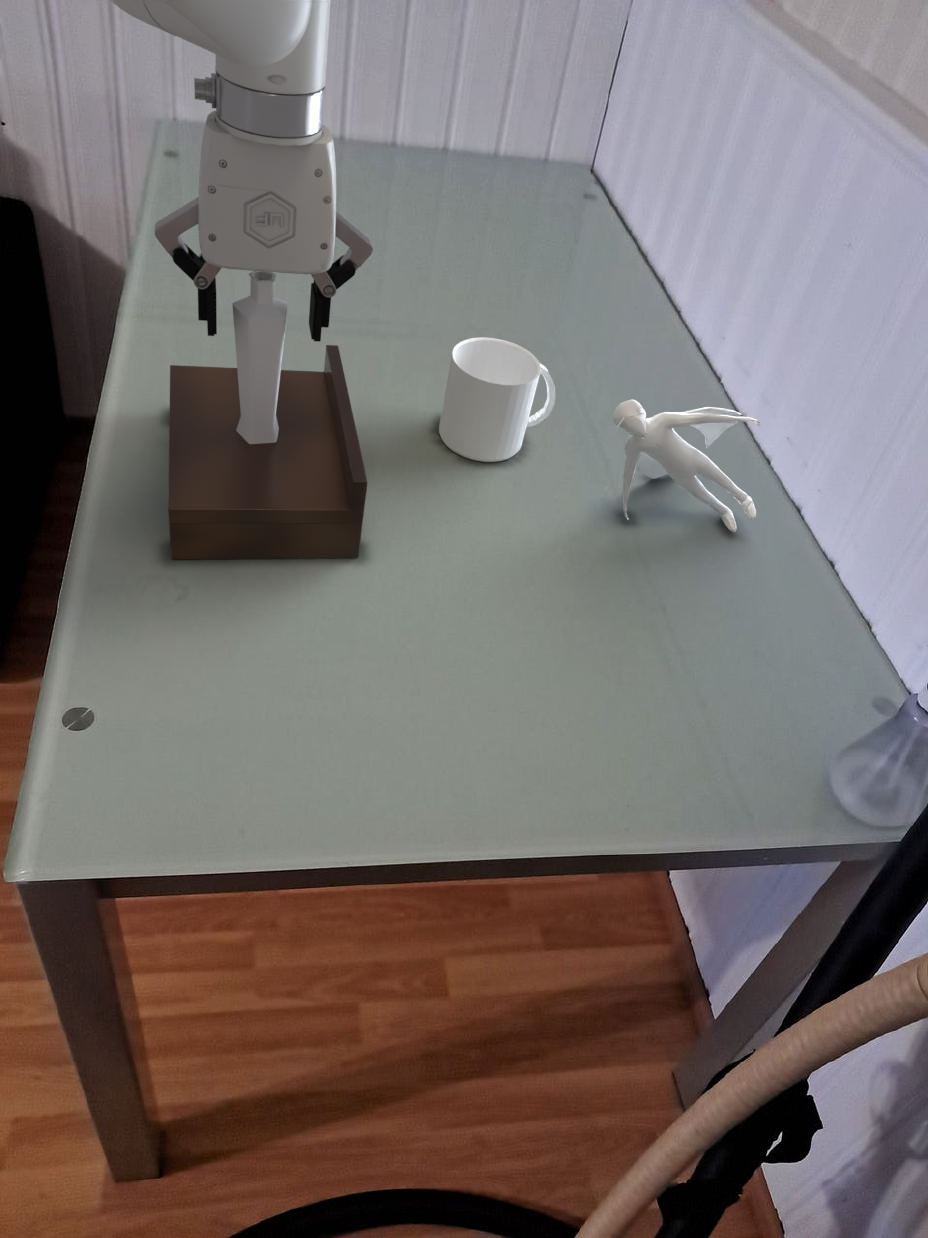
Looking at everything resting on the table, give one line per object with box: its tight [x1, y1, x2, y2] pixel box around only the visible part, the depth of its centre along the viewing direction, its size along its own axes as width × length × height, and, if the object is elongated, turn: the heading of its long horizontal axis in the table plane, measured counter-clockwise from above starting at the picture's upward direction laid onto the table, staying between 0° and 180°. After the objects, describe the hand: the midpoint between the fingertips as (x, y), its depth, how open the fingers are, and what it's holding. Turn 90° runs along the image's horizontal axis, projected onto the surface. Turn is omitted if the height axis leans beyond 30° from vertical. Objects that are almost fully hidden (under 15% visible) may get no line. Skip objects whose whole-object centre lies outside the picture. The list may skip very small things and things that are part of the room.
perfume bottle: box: [231, 271, 289, 444], centre depth 82 cm, size 5×4×15 cm
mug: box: [438, 336, 556, 463], centre depth 100 cm, size 12×9×9 cm
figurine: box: [608, 399, 761, 533], centre depth 94 cm, size 16×11×20 cm
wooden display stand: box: [167, 344, 368, 560], centre depth 88 cm, size 16×22×8 cm
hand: (263, 329), depth 80 cm, fingers open, 7 cm apart
